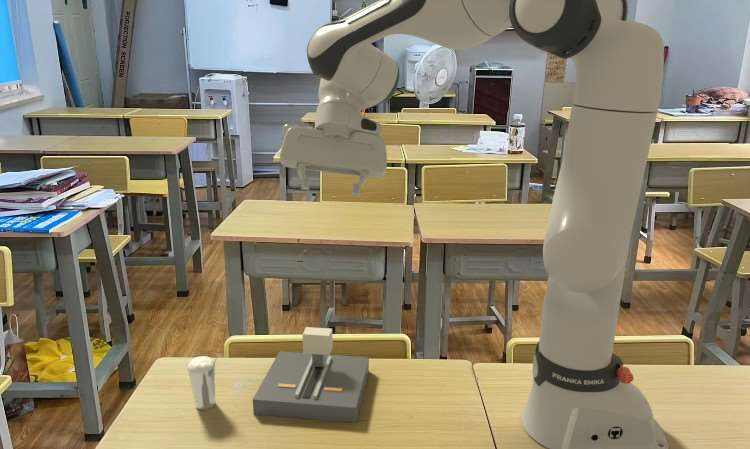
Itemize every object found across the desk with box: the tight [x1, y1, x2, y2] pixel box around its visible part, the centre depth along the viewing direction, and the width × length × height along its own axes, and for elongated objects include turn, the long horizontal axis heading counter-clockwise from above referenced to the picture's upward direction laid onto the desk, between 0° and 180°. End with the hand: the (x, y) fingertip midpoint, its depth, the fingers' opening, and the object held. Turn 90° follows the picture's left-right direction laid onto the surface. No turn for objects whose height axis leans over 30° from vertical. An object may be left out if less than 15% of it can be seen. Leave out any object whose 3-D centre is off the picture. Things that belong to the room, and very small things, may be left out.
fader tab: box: [302, 326, 334, 367], centre depth 102 cm, size 5×3×7 cm, turn 83°
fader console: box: [252, 351, 370, 424], centre depth 101 cm, size 18×16×4 cm
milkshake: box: [187, 356, 218, 411], centre depth 95 cm, size 5×5×10 cm
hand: (330, 191), depth 101 cm, fingers open, 8 cm apart
